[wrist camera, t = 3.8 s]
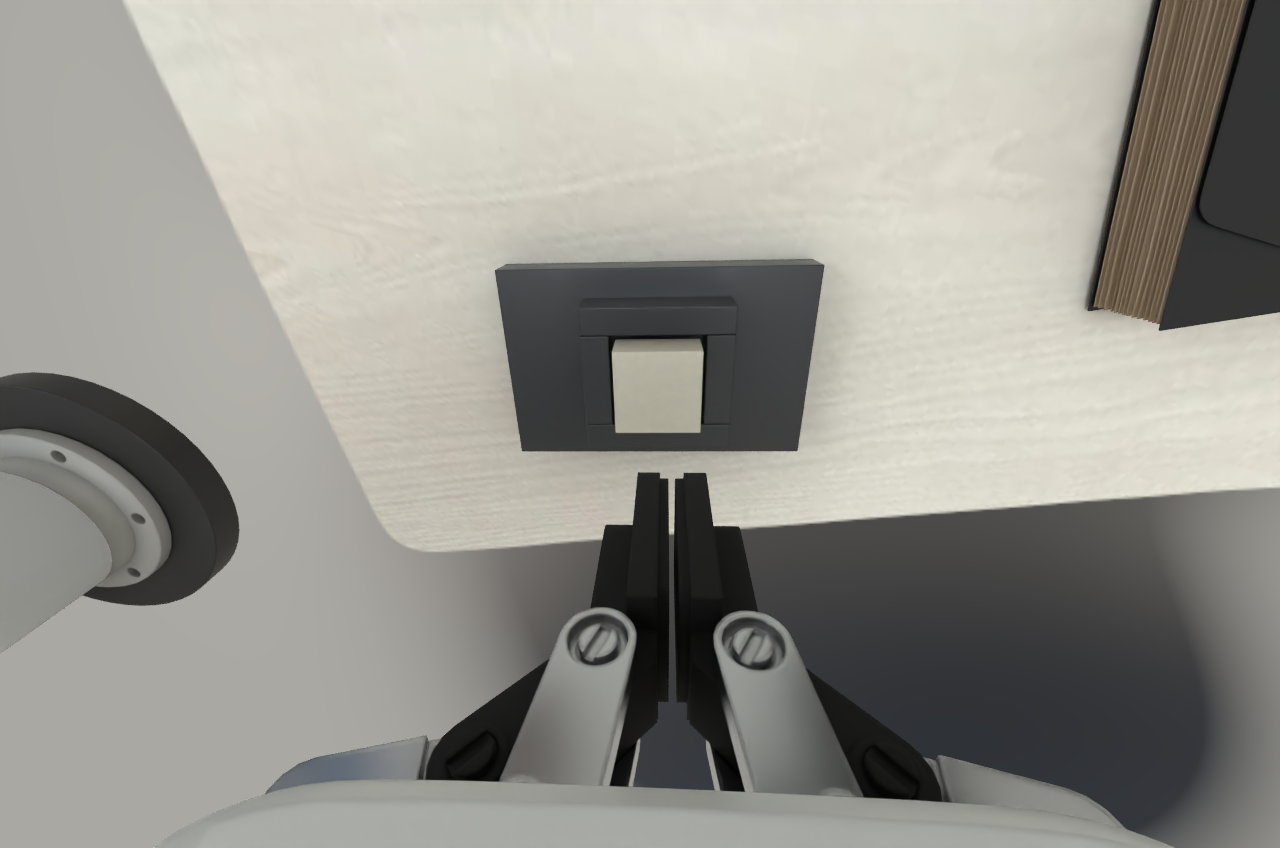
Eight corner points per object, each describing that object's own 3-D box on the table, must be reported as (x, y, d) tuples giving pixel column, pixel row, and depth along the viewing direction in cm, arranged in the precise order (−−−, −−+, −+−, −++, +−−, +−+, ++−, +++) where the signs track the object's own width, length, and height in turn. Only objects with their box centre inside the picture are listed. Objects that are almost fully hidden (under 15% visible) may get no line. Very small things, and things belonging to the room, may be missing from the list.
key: (618, 415, 22) (615, 433, 20) (615, 339, 20) (611, 351, 19) (697, 415, 22) (700, 433, 20) (700, 338, 20) (703, 351, 19)
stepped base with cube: (529, 436, 26) (512, 470, 23) (505, 264, 22) (480, 277, 19) (789, 435, 26) (807, 470, 22) (813, 259, 22) (839, 271, 18)
